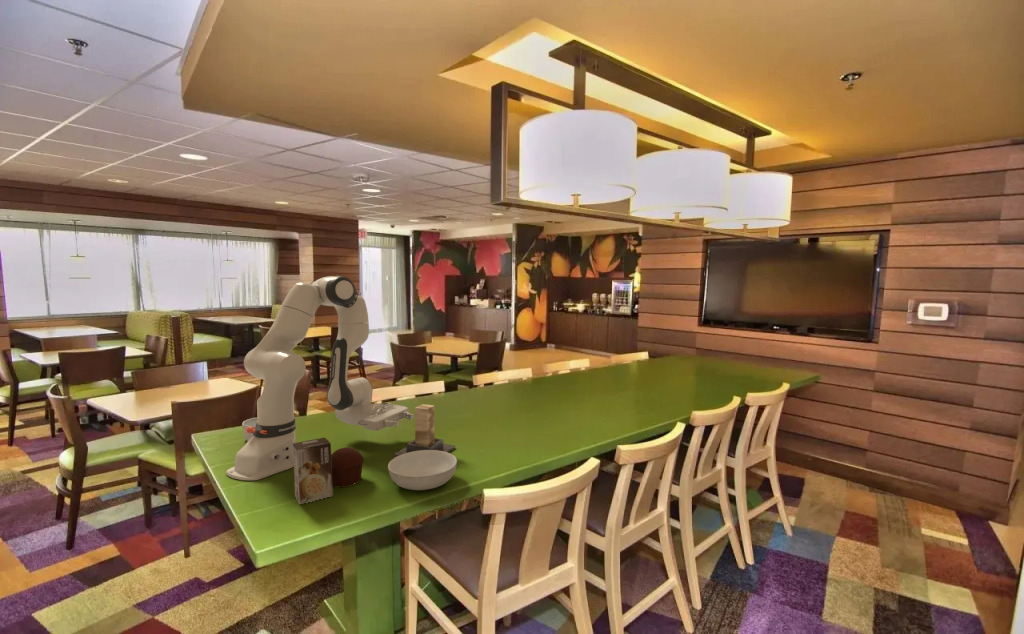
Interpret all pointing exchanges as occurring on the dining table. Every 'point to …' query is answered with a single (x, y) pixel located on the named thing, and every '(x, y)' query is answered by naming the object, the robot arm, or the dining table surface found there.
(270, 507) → the dining table surface
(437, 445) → the collar
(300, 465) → the printed cardboard box
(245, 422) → the ramekin
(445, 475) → the serving bowl
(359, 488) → the dining table surface
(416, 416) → the pillar
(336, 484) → the muffin
